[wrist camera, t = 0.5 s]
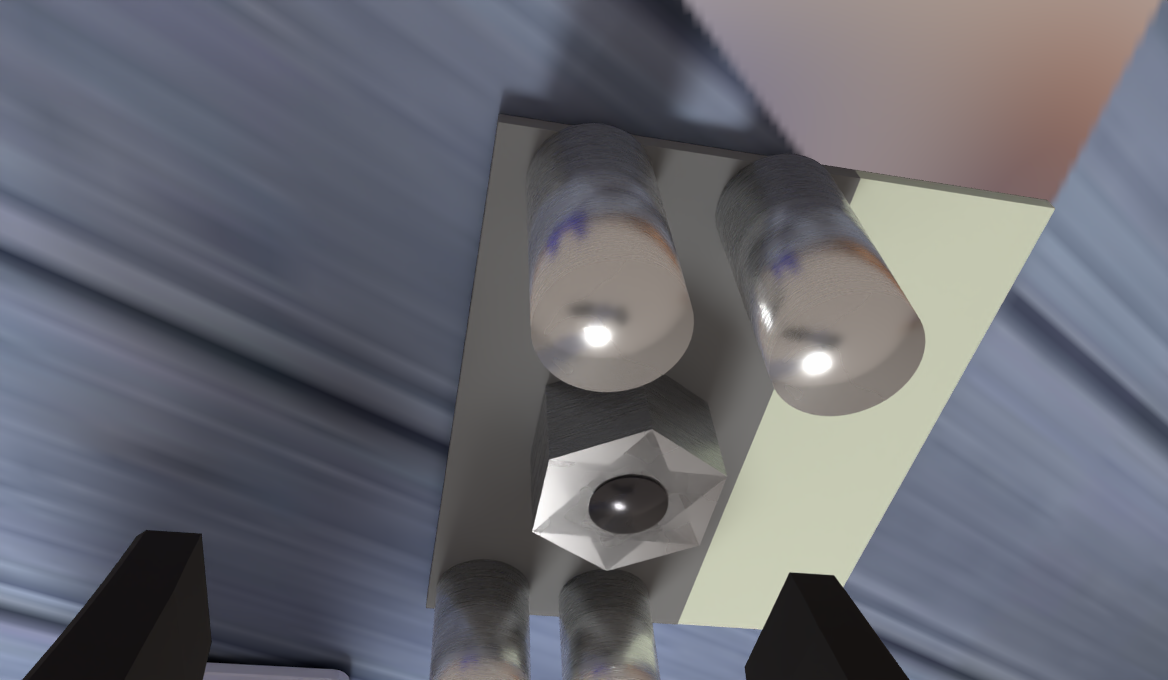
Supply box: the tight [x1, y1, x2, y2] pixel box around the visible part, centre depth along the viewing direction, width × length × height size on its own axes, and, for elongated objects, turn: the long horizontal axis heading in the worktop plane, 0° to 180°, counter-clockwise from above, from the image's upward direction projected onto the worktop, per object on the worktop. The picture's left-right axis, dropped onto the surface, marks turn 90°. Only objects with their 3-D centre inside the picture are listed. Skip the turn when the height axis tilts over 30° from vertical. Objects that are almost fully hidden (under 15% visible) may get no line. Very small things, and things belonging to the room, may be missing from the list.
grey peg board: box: [429, 123, 925, 680], centre depth 21 cm, size 16×7×5 cm, turn 169°
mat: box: [426, 114, 1055, 629], centre depth 23 cm, size 15×12×1 cm
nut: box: [530, 374, 727, 571], centre depth 22 cm, size 4×5×3 cm
